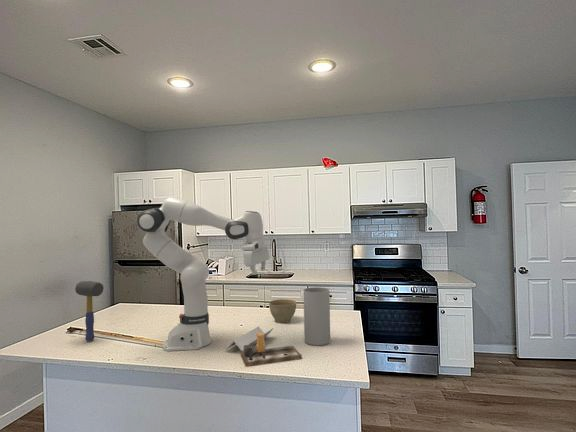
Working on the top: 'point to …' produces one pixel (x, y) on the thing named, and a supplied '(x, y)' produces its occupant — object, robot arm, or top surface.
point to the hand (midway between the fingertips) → (259, 272)
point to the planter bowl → (282, 310)
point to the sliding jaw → (260, 343)
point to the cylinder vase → (316, 316)
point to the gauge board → (269, 355)
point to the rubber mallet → (89, 303)
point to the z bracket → (248, 338)
